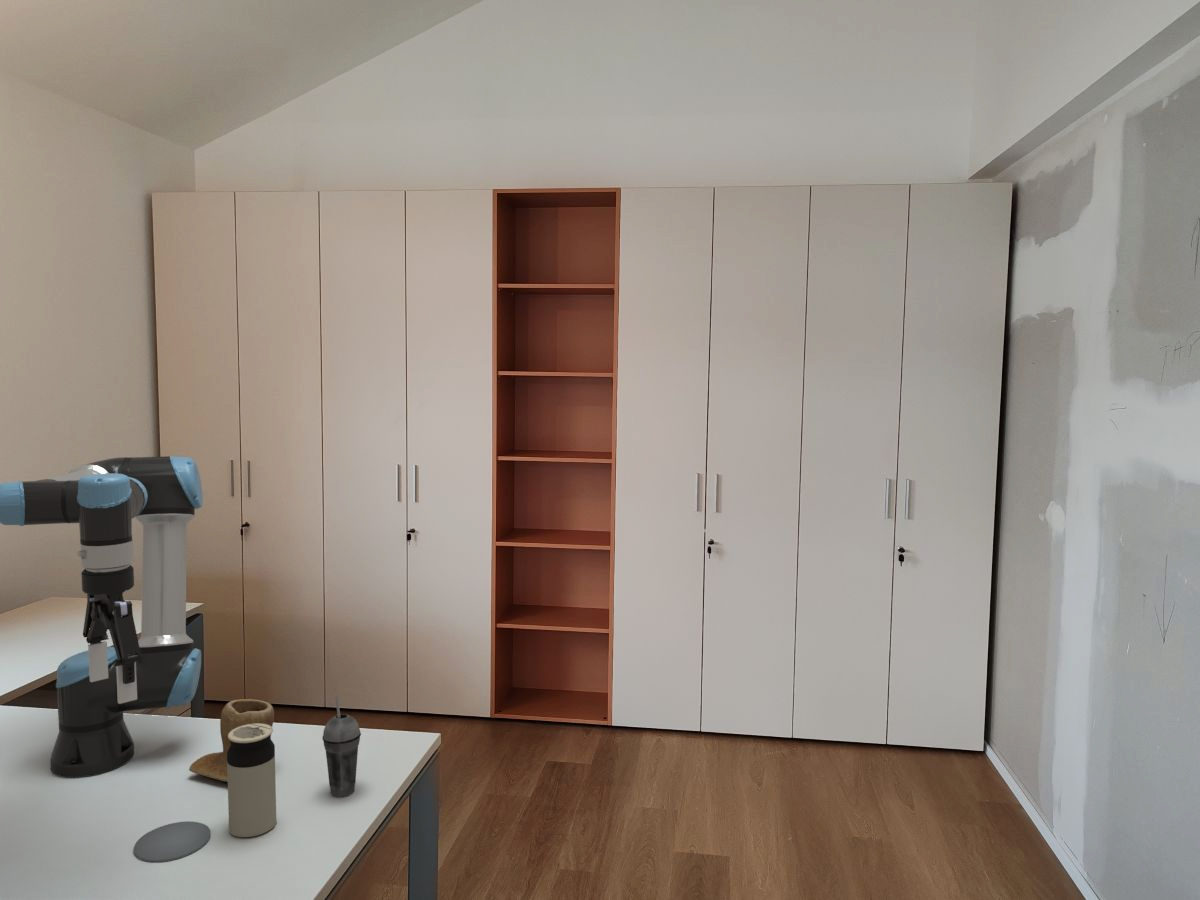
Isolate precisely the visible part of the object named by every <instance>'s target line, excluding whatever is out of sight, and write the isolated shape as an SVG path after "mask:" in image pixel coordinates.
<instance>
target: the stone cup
mask: <svg viewBox="0 0 1200 900" xmlns="http://www.w3.org/2000/svg"><path fill="white" fill-rule="evenodd" d="M274 719H275V709H274V707H273V705H272V704H271V703H270V702H267V701H264V700H260V699H250V698H248V699H245V698H244V699H243V698H242V699H234V700H233V699H232V700H231V701H229V702H227V703H226V704H225V705H224V707H223V708H222V710H221V714H220V720H219V721H220V722H219V726H220V727H219V728H220V729H219V731H220V738H221V743H222V744H221V745H222V751H220V752H211V753H208V754H205V755H203V756H201V757H199V758H197V759H196V760H195V761H194V762H192V763H191V764H190V766H189V769H188V771H189V772H192V773H194V774H197V775H200V776H204V777H208V778H210V779H214V780H218V781H222V782H226V783H228V774H227V751H228V749H229V747H230V745H231V743H230V740H229V739H228V734H229V733H230V732H231V731H232V730H233V729H235V728H237V727H240V726H243V725H247V724H256V723H260V724H267V725H269V726H271V727H272V728H273V725H274V722H275V720H274Z"/></svg>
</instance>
